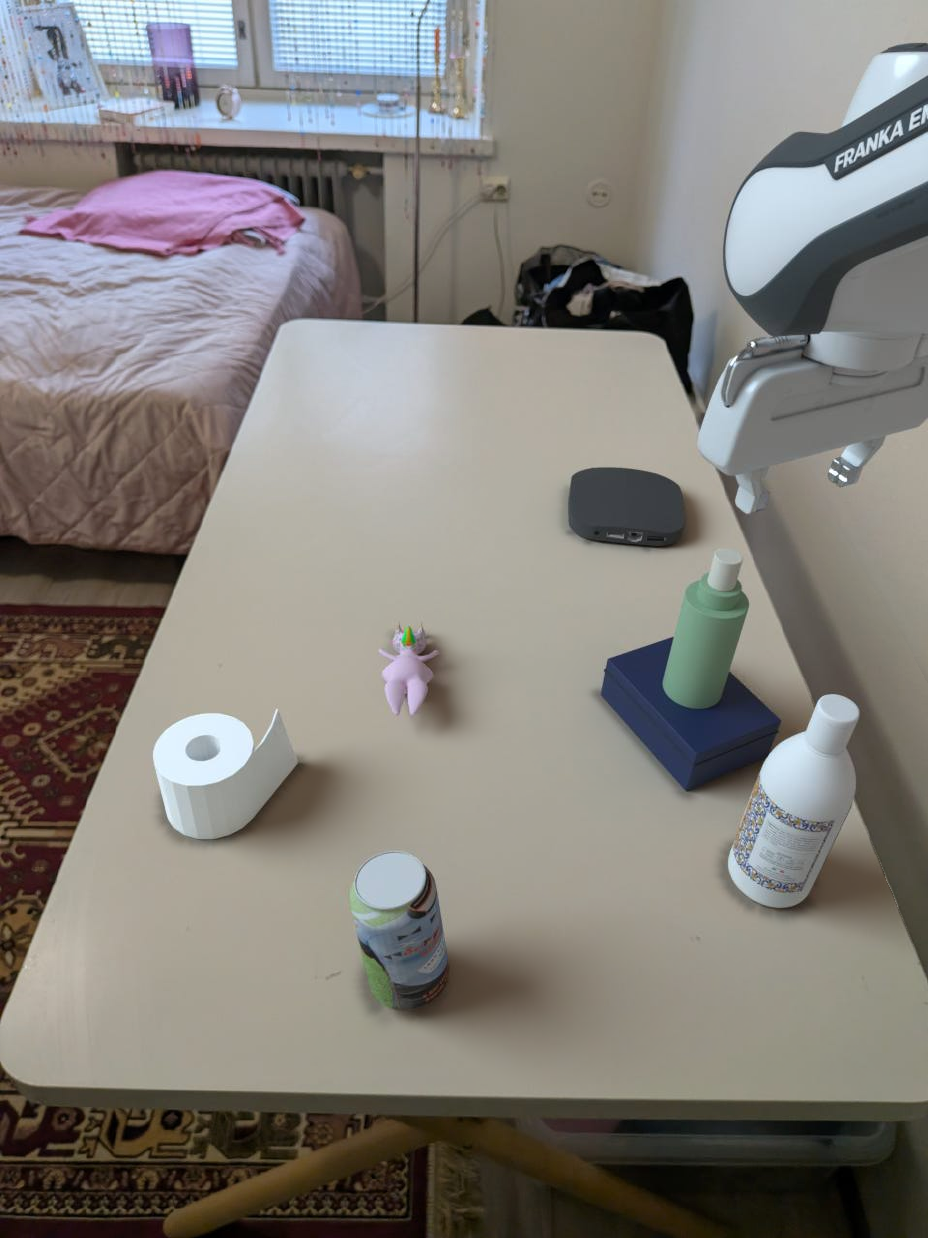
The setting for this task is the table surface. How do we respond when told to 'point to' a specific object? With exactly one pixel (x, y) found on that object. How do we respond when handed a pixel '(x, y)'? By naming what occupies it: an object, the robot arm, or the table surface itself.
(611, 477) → the media streaming box
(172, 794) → the toilet paper
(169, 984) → the table surface
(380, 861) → the beverage can
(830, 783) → the bath foam
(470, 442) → the table surface
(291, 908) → the table surface
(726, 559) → the bottle
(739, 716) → the case
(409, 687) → the pink toy figurine
